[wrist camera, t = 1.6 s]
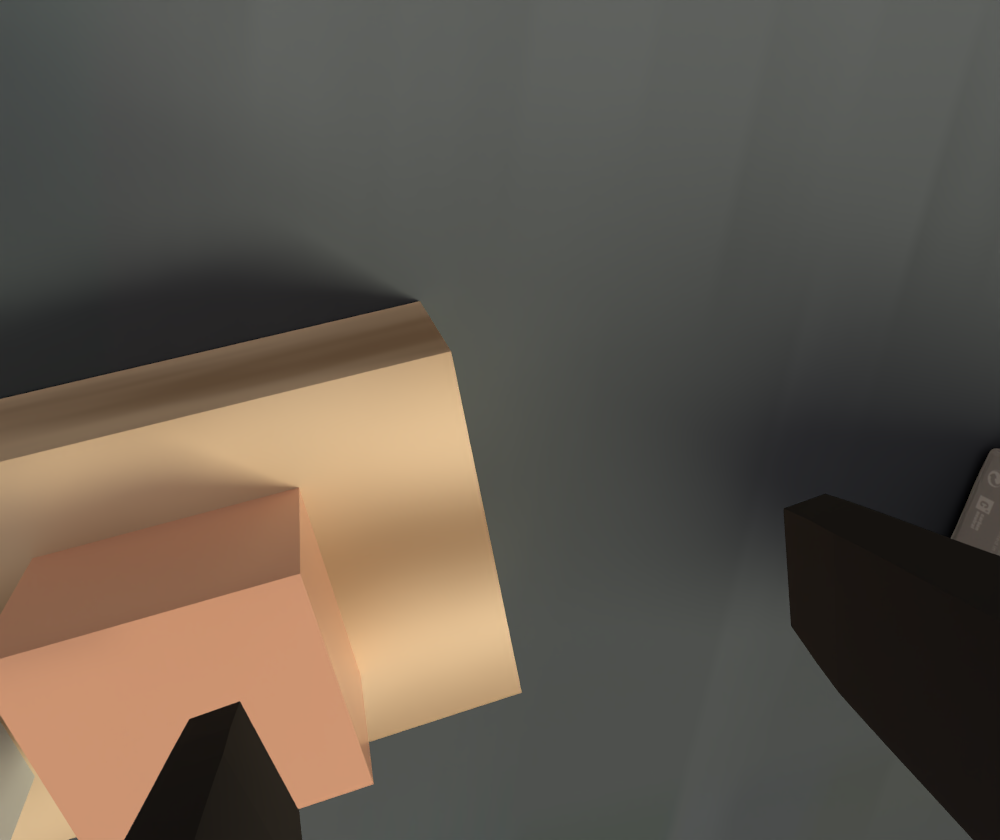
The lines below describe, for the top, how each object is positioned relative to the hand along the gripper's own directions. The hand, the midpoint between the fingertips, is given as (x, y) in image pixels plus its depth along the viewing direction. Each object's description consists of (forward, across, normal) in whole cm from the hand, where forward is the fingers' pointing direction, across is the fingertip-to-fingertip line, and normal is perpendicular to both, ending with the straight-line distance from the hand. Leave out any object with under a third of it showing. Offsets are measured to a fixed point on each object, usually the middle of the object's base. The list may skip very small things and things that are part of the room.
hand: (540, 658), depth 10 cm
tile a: (+6, +6, +2) cm, 9 cm away
